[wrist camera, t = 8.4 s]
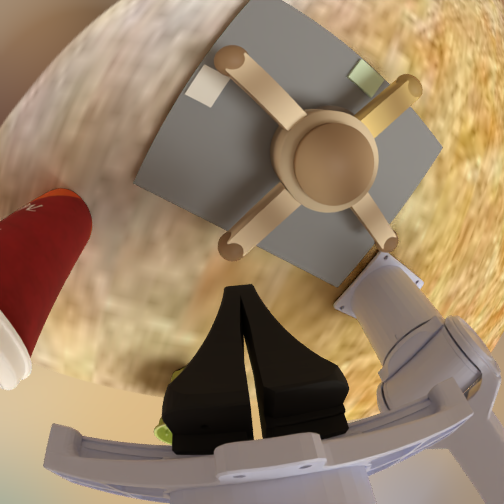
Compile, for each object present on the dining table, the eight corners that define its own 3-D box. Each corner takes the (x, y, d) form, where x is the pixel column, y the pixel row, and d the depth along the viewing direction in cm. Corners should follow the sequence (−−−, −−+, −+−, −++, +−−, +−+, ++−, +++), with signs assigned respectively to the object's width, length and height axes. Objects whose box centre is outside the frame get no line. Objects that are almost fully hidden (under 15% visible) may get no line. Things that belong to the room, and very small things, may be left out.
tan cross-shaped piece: (297, 299, 25) (310, 332, 22) (124, 159, 17) (102, 174, 13) (443, 168, 20) (474, 183, 16) (317, -13, 12) (340, -34, 8)
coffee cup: (46, 157, 17) (-89, 248, 4) (119, 206, 20) (25, 354, 7) (22, 233, 20) (-65, 341, 7) (85, 276, 23) (24, 411, 10)
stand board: (434, 144, 20) (444, 148, 19) (333, 280, 26) (338, 289, 25) (258, -6, 13) (261, -13, 12) (137, 178, 19) (131, 184, 18)
